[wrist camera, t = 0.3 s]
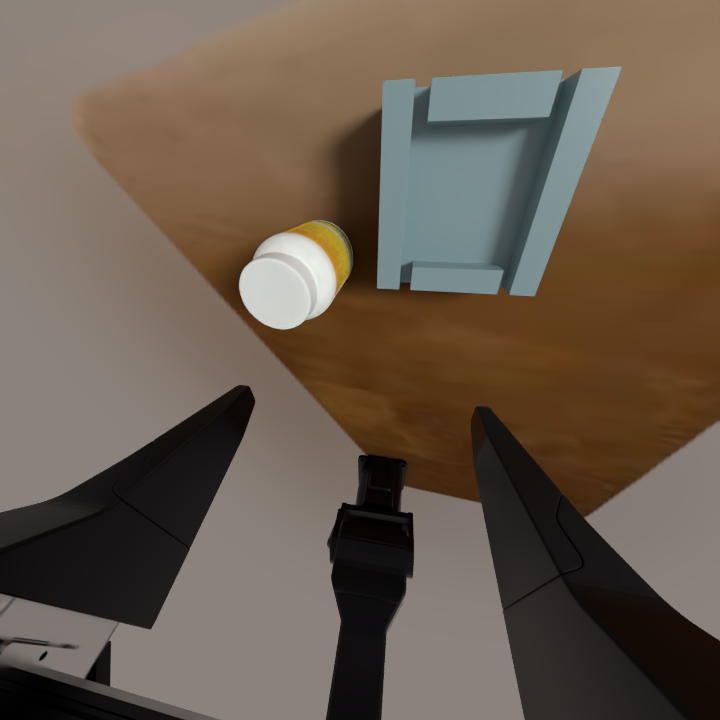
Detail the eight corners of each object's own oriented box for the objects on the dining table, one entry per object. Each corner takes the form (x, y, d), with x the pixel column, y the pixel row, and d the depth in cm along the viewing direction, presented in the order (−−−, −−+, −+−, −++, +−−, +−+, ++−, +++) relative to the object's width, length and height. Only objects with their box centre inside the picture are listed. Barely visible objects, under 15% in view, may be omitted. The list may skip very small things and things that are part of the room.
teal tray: (512, 274, 20) (534, 296, 17) (383, 269, 22) (376, 288, 18) (570, 93, 15) (621, 66, 11) (389, 102, 16) (382, 80, 12)
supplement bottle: (334, 298, 24) (296, 356, 16) (282, 262, 23) (214, 306, 15) (367, 246, 21) (341, 288, 13) (309, 202, 20) (243, 219, 12)
